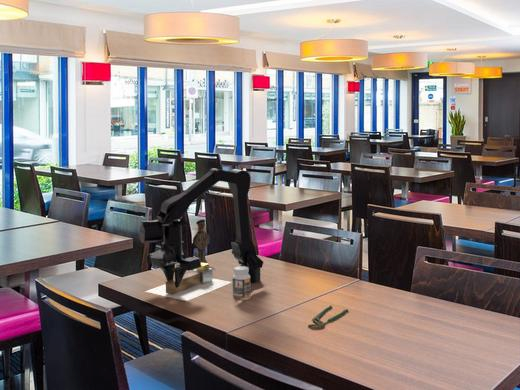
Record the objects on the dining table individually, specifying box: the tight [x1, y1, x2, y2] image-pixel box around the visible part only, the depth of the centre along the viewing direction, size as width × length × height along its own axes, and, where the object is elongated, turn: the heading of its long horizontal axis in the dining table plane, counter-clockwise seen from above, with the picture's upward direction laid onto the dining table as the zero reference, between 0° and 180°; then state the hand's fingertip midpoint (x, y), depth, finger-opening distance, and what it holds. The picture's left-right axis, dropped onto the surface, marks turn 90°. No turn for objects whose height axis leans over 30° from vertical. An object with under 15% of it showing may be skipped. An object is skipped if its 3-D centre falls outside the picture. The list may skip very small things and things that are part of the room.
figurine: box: [192, 218, 210, 264], centre depth 236 cm, size 7×5×18 cm
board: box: [144, 277, 233, 302], centre depth 205 cm, size 18×24×1 cm
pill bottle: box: [232, 265, 252, 301], centre depth 195 cm, size 6×6×10 cm
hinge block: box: [192, 267, 213, 284], centre depth 211 cm, size 5×4×4 cm
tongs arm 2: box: [168, 273, 200, 294], centre depth 202 cm, size 14×1×4 cm, turn 146°
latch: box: [196, 263, 210, 271], centre depth 210 cm, size 3×4×2 cm
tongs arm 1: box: [165, 271, 195, 294], centre depth 202 cm, size 14×1×4 cm, turn 146°
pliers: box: [307, 304, 349, 330], centre depth 177 cm, size 20×7×1 cm, turn 148°
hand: (173, 286), depth 199 cm, fingers open, 2 cm apart
